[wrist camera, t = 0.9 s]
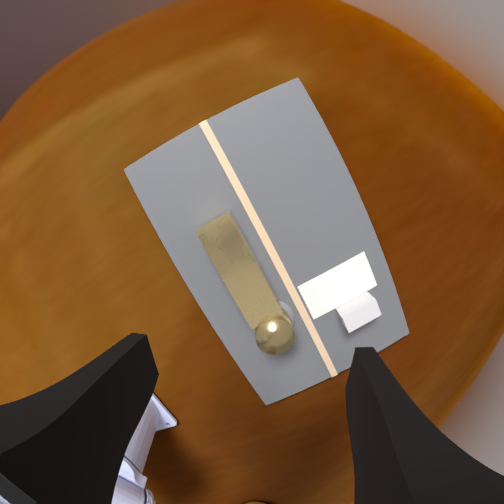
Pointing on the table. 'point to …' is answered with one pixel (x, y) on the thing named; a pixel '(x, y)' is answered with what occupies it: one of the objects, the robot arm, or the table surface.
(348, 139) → the table surface
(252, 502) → the apple
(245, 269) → the bar
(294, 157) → the lock board
